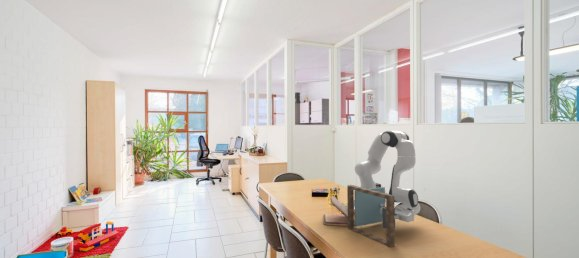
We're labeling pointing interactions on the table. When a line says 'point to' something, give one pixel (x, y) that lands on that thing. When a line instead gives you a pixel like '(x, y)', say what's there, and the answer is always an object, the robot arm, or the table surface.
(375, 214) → the door
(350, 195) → the door frame
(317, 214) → the table surface
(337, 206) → the case
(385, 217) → the dark blue-gray block
